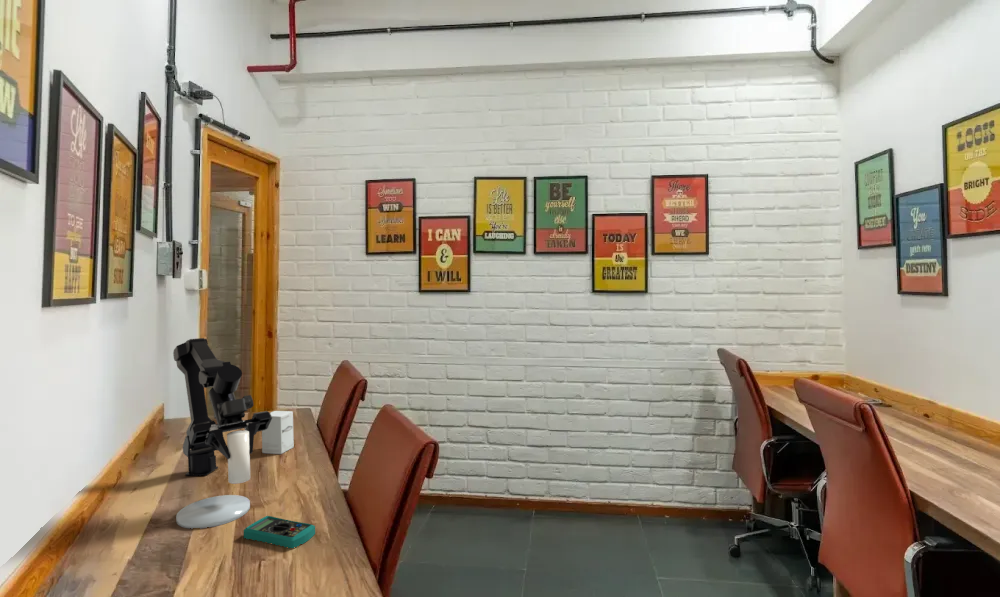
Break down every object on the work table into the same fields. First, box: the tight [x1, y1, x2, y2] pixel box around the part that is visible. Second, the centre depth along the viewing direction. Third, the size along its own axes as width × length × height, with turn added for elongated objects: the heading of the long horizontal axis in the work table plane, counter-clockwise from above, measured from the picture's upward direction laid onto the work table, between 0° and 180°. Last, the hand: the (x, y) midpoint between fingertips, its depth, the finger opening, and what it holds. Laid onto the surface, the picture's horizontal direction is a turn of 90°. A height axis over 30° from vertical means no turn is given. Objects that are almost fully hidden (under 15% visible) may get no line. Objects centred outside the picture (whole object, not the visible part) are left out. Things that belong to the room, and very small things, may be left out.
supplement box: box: [261, 410, 295, 455], centre depth 177 cm, size 7×7×13 cm
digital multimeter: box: [243, 515, 316, 549], centre depth 118 cm, size 7×15×3 cm, turn 69°
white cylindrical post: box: [226, 429, 251, 485], centre depth 134 cm, size 5×5×12 cm
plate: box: [175, 494, 251, 530], centre depth 131 cm, size 16×16×1 cm
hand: (240, 455), depth 133 cm, fingers closed on white cylindrical post, 5 cm apart
